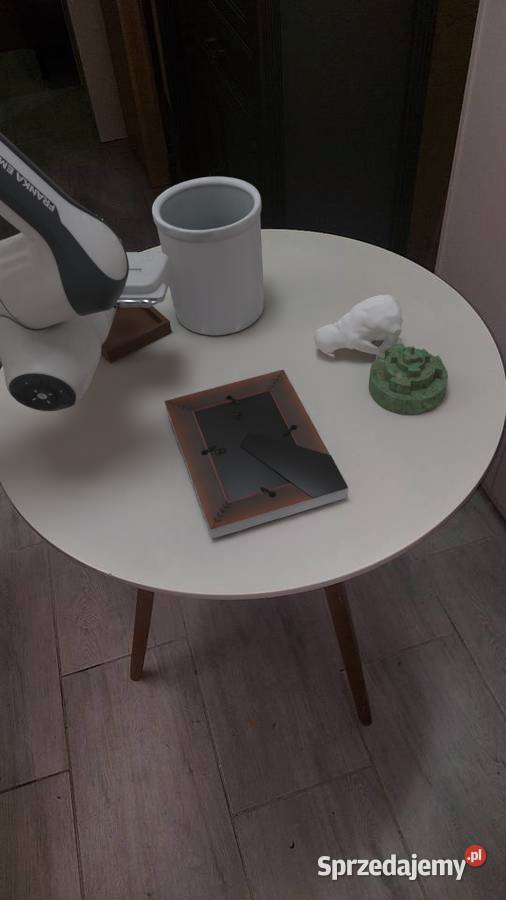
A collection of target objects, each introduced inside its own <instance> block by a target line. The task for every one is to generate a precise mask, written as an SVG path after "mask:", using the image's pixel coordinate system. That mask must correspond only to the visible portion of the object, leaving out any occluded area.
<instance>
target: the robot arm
mask: <svg viewBox="0 0 506 900" xmlns="http://www.w3.org/2000/svg"><path fill="white" fill-rule="evenodd" d="M0 216H1V217H2V218H4V220H6V221H7V222H8V223H9V224H11V225H12V226H13V227H14V228H15V229H16V230H18V231H19V232H18V233H17V234H15V235H12V236H9V237H6V238H3V239H0V364H1V366H2V370H3V374H4V381H5V382H4V383H5V385H6V389H7V391H8V393H9V394H10V395H11V397H12V398H13V399H14V400H16V402H18V403H19V404H21V405H23V406H25V407H26V408H29V409H33V410H36V411H41V412H56V411H61V410H65V409H69V408H71V407H73V406H75V405H76V404H77V403H78V402H79V401H80V400H81V399H83V396H84V395H85V393H86V392H87V390H88V389H89V387H90V385H91V383H92V381H93V378H94V377H95V374H96V371H97V369H98V365H99V363H100V360H101V357H102V354H101V345H102V344H103V343H104V342H105V340H106V339H107V337H108V334H109V331H110V328H111V325H112V322H113V320H114V317H115V314H116V311H117V308H130V307H141V308H148V307H151V306H153V307H155V305H157V304H159V303H160V304H161V303H163V302H164V301H165V299H166V297H167V292H168V289H169V284H170V282H171V279H172V271H171V264H170V260H169V257H168V256H167V255H166V254H165V253H163V252H162V251H127V250H126V249H125V246H124V244H123V241H122V238H120V237H119V235H118V234H117V233H116V231H115V230H114V229H113V228H112V227H111V225H109V224H108V223H107V222H106V221H105V220H104V219H103V218H101V217H100V216H98V214H95V213H94V212H93V211H91V210H89V209H88V208H86V207H85V206H84V205H82V204H81V203H79V202H77V201H76V200H75V199H74V198H72V197H71V196H70V195H69V194H68V193H66V192H65V191H64V190H63V189H62V188H61V187H60V186H59V185H58V184H57V183H55V182H54V180H52V178H50V176H48V175H47V174H46V173H45V172H44V171H43V170H41V168H39V166H38V165H36V164H35V163H34V162H33V160H31V159H30V158H29V157H28V156H27V155H26V154H24V153H23V152H22V151H21V150H20V149H19V148H18V147H17V146H16V145H15V144H14V143H13V142H11V141H10V140H9V139H8V138H7V137H6V136H5V135H4V134H3V133H2V132H1V131H0ZM102 219H103V220H102Z"/></svg>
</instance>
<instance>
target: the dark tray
mask: <svg viewBox="0 0 506 900" xmlns="http://www.w3.org/2000/svg"><path fill="white" fill-rule="evenodd" d="M172 333H173V331H172V324H171V321H170V320H169V319H168V318H167V317H166V316H165V315H164V314H162V313H161V312H160V310H158V309H157V308H155V306H151V307H148V308H141V307H130V308H117V311H116V314H115V317H114V320H113V322H112V325H111V328H110V331H109V334H108V337H107V339H106V340H105V342H104V343H103V344H102V345H101V356H103V357H104V358H105V360H106V361H108V363H109V364H112V363H113V362H115V361H117V360H120V359H122V358H123V357H125V356H127V355H130V354H132V353H134V352H136V351H138V350H140V349H142V348H144V347H146V346H148V345H150V344H152V343H154V342H156V341H157V340H160V339H161V338H164V337H166V336H168V335H170V334H172Z"/></svg>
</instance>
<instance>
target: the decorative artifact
mask: <svg viewBox="0 0 506 900" xmlns="http://www.w3.org/2000/svg"><path fill="white" fill-rule="evenodd" d="M448 381H449V374H448V370H447V368H446V366H445V365H444V363H443V361H442V358H441V357H440V355H434V354H431V353H429V351H428V350H426V349H424V348H422V349H420V348H417V347H416V346H413V345H412V346H410V345H409V346H405V344H404V342H403V343H396V345H393V346H391V347H389V348H387V349H386V350H385V353H383V354H382V355H380V356H379V357H377V358H376V357H375V359H374V361H372V363H371V366H370V368H369V379H368V391H369V395H370V396H371V398H372V399H373V400H374V402H375V403H377V404H378V405H379V406H381V407H382V408H383V409H385V410H388V411H391V412H392V413H396V414H400V413H401V414H400V415H420V414H423V413H422V412H424V413H427V412H429V411H428V410H430V411H432V410H433V409H435V408H436V407H438V406H439V405H440V404H441V403H442V402H443V400H444V398H443V397H445V393H446V389H447V385H448ZM442 399H443V400H442ZM440 402H441V403H440ZM439 403H440V404H439ZM438 404H439V405H438ZM437 405H438V406H437ZM431 409H432V410H431ZM426 411H427V412H426ZM417 413H418V414H417ZM419 413H420V414H419Z"/></svg>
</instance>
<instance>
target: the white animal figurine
mask: <svg viewBox="0 0 506 900" xmlns="http://www.w3.org/2000/svg"><path fill="white" fill-rule="evenodd" d="M402 314H403V313H402V309H401V306H400V303H399V301H398V299H397V298H396V297H395V296H394V295H392V294H379V295H374V296H371V297H367V298H366V299H364V300H363V301H360V302H358V303H357V304H355V305H354V306H352V308H351V309H350V310H349V311H348V312H347V313H344V314H343V315H342V316H341V318H339V319H337V321H336V322H335V323H334V322H333V323H329V324H325V325H323V326H320V327H319V328H318V329H316V331H315V332H314V336H313V337H314V338H313V341H314V345H315V347H316V348H317V349H319V350H320V351H321V352H322V353H323V354H325V355H328V356H329V357H330V358H332V359H334V357H335V354H336V353H335V350H339V349H344V348H345V349H348V350H357V351H359V352H362V353H366V354H371V355H375V359H376V358H377V357H379V356H380V355H382V354H383V353H385V350H386V349H387V348H389V347H391V346H393V345H397V344H398V341H399V337H400V335H401V333H402V332H403V329H402V327H403V316H402ZM374 341H375V342H376V341H377V342H382V344H381V345H380V346H379V347H378V346H376V344H373V342H374Z"/></svg>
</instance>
